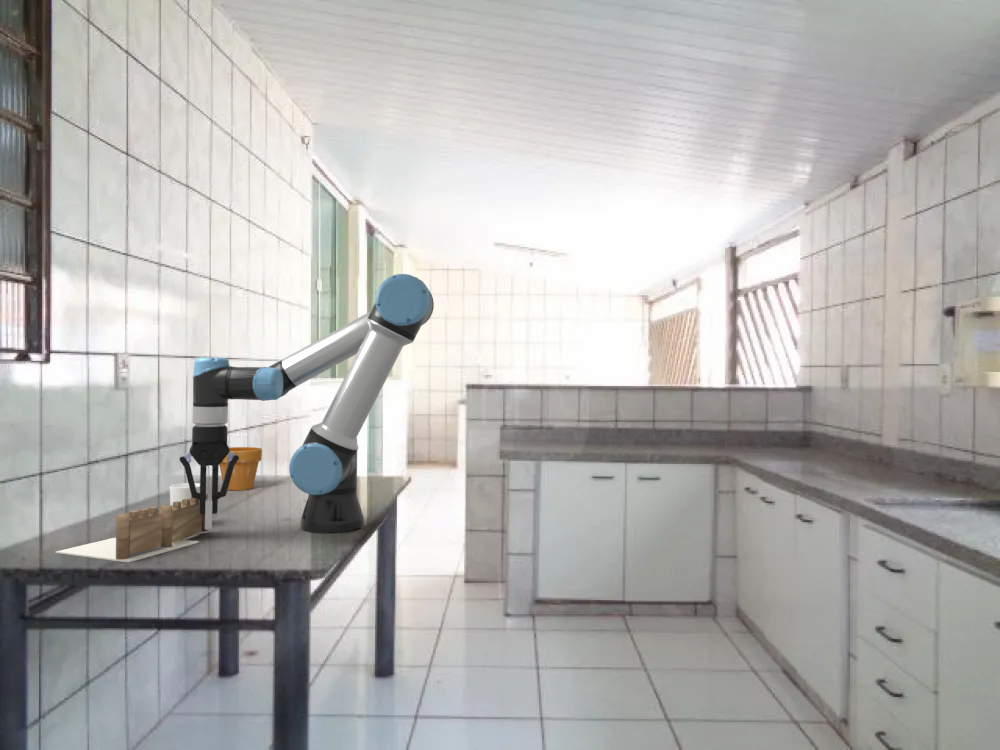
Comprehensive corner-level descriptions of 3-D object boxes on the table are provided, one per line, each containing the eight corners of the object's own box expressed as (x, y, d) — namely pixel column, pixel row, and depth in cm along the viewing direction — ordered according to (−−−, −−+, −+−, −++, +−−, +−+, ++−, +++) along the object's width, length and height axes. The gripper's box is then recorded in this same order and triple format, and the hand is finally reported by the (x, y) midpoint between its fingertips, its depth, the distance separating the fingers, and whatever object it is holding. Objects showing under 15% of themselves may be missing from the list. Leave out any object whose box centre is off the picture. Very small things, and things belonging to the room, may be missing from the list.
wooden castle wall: (174, 547, 160) (174, 504, 160) (121, 561, 147) (122, 515, 147) (165, 546, 161) (166, 503, 161) (112, 560, 148) (113, 514, 148)
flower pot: (228, 485, 251) (228, 446, 251) (268, 486, 249) (268, 447, 249) (207, 491, 237) (207, 450, 237) (250, 492, 235) (250, 451, 235)
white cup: (191, 530, 178) (191, 488, 178) (161, 528, 179) (162, 487, 179) (210, 523, 186) (210, 483, 186) (182, 522, 187) (182, 482, 187)
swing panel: (209, 530, 174) (209, 493, 174) (176, 542, 161) (176, 503, 161) (200, 529, 175) (200, 493, 175) (166, 542, 161) (166, 503, 162)
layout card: (199, 542, 164) (199, 540, 164) (128, 562, 147) (128, 560, 147) (130, 535, 171) (130, 533, 171) (55, 553, 154) (55, 551, 154)
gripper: (238, 423, 176) (237, 523, 176) (179, 424, 170) (177, 526, 170) (241, 425, 169) (239, 529, 169) (179, 426, 164) (177, 533, 164)
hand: (208, 528), depth 170 cm, fingers closed
